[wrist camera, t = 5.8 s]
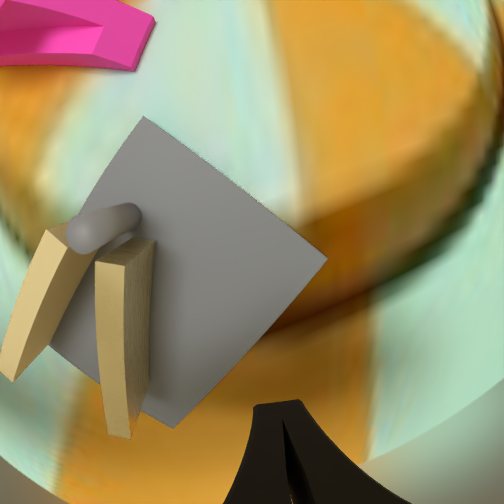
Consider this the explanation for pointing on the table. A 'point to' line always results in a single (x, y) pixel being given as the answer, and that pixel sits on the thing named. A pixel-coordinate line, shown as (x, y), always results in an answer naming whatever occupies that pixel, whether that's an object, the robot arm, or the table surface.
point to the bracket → (73, 33)
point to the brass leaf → (124, 331)
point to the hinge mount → (164, 272)
